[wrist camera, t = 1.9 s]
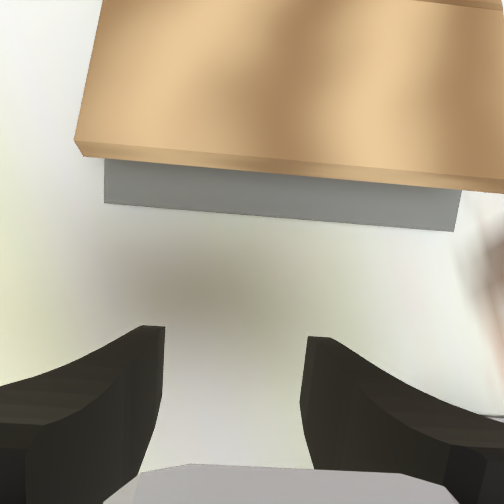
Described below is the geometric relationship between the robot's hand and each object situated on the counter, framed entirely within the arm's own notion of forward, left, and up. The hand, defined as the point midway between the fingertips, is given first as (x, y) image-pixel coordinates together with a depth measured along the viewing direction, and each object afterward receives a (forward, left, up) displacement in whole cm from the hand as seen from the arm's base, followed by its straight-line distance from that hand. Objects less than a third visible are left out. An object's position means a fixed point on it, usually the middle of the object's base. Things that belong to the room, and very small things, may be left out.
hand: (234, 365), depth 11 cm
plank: (-2, -9, -6) cm, 11 cm away
